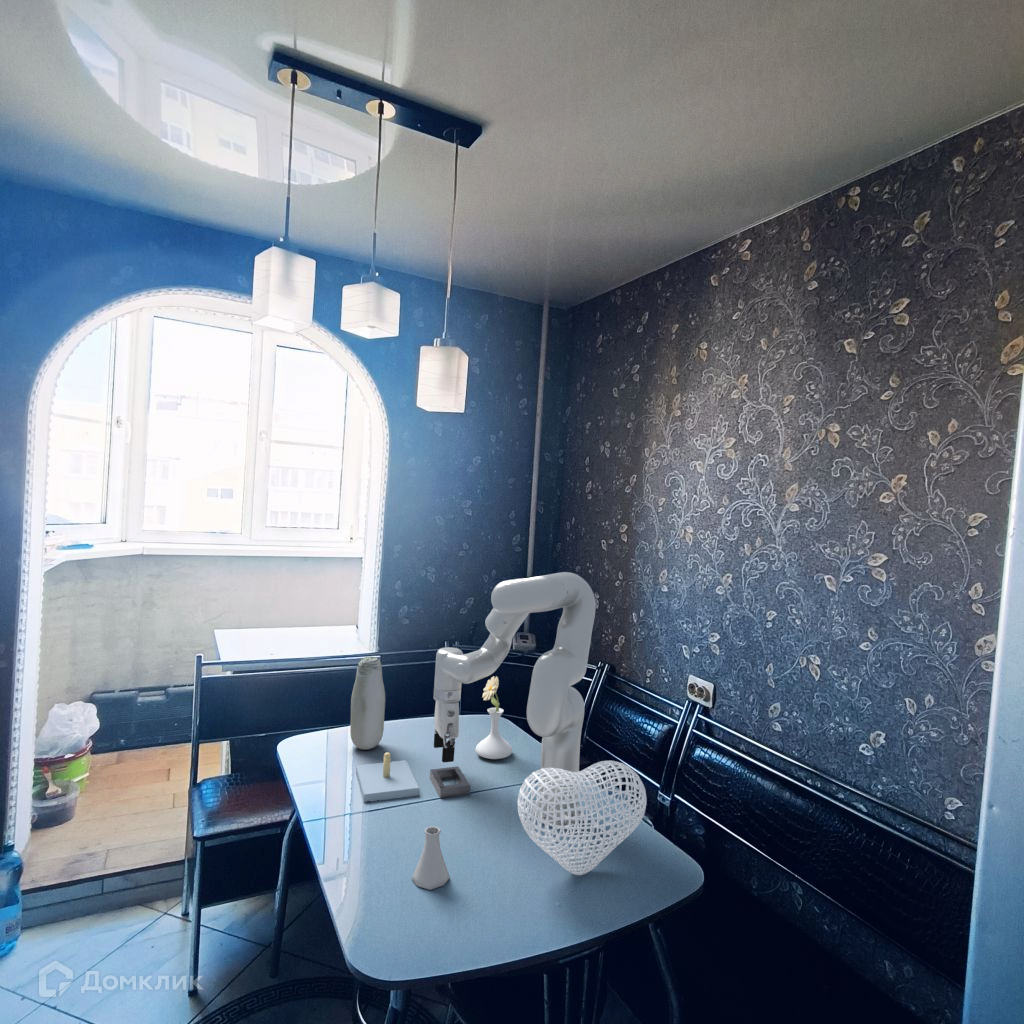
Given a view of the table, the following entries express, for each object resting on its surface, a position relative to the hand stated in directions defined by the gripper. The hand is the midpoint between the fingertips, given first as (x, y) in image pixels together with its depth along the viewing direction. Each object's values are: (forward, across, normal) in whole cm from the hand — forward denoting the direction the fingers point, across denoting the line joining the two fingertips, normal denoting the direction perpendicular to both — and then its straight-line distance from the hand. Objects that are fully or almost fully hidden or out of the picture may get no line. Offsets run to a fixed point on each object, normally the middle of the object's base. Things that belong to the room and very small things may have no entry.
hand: (443, 754), depth 171 cm
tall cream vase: (+8, +26, +17) cm, 32 cm away
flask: (+6, -45, +13) cm, 47 cm away
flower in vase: (+7, +10, -19) cm, 22 cm away
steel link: (+6, -6, -1) cm, 9 cm away
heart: (+5, -52, -17) cm, 55 cm away
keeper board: (+7, 0, +15) cm, 17 cm away
